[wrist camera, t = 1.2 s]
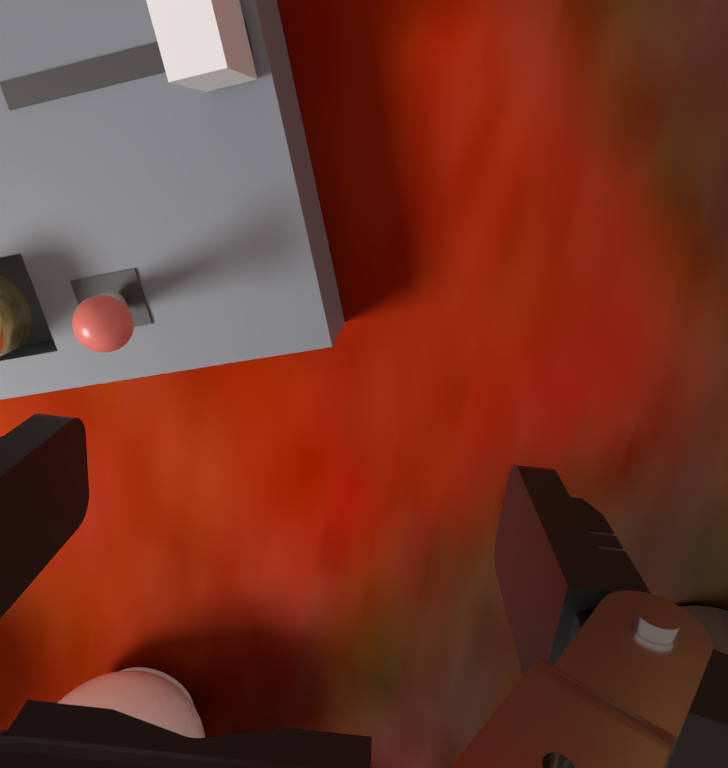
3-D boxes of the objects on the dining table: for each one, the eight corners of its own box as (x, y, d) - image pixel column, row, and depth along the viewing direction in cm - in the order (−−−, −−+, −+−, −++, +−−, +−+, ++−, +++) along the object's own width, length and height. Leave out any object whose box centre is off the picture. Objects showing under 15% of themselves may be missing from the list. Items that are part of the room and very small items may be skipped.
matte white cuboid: (236, -14, 22) (201, -43, 18) (257, 79, 23) (227, 68, 19) (182, 0, 22) (138, -26, 19) (206, 91, 23) (168, 82, 20)
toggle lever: (128, 274, 26) (122, 292, 21) (143, 319, 27) (141, 349, 21) (79, 285, 26) (59, 307, 20) (95, 331, 26) (80, 364, 21)
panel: (263, -63, 25) (232, -101, 21) (344, 322, 30) (331, 347, 26) (-156, 54, 28) (-249, 39, 24) (-17, 382, 33) (-75, 412, 29)
